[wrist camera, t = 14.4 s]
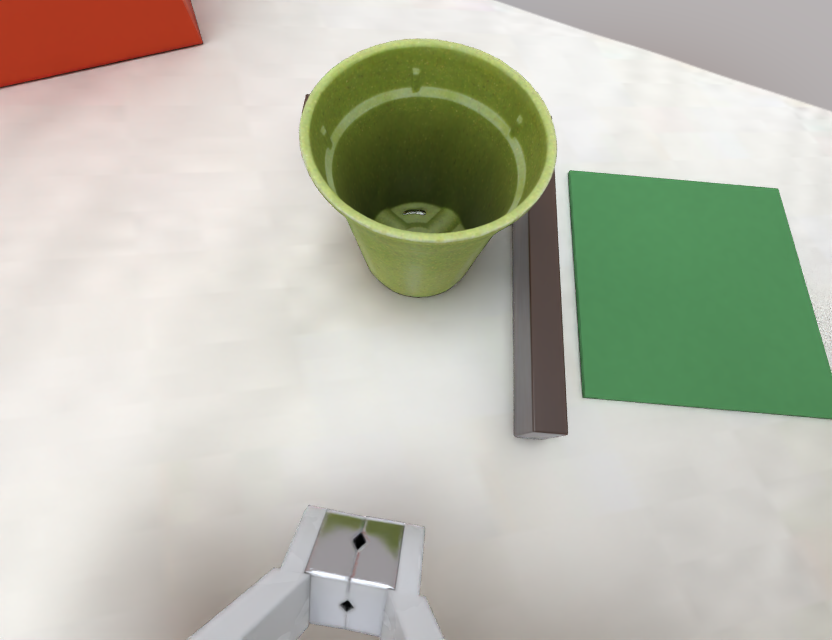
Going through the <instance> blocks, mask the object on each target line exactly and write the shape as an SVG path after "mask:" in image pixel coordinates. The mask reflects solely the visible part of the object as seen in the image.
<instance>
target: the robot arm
mask: <svg viewBox="0 0 832 640" xmlns="http://www.w3.org/2000/svg"><path fill="white" fill-rule="evenodd" d="M424 537H425V528H424V526H418V525H412V524H406V523H405V524H404V522H399V521H393V520H387V519H381V518H375V517H369V516H366V517H364V516H359V515H355V514H350V513H345V512H340V511H336V510H331V509H326V508H321V507H316V506H311V505H308V507H307V508H306V510H305V511H304V513H303V516H302V518H301V520H300V523H299V525H298V527H297V530H296V532H295V534H294V537H293V539H292V542H291V544H290V546H289V549H288V551H287V553H286V556H285V558H284V560H283V563H282V565H281V567H280V568H273V569H272V570H270V571H269V572H268V573H267V574H266V575H264V576H263V577H262V578H261V579H259V580H258V581H257V582H256V583H255V584H253V585H252V586H251V587H250V588H249V589H247V590H246V591H245V592H244V593H243V594H241V595H240V596H239V597H238V598H236V599H235V600H234V601H233V602H232V603H230V604H229V605H228V606H227V607H226V608H224V609H223V610H222V611H221V612H219V613H218V614H217V615H216V616H215V617H213V618H212V619H211V620H210V621H209V622H207V623H206V624H205V625H204V626H203V627H201V628H200V629H199V630H198V631H196V632H195V633H194V634H193V635H192V636H190V637H189V638H188V639H187V640H297V639H298V638H299V637H300V635H301V634H302V633H303V632H304V631H305V630H306V628H307V627H308V625H309V623H310V624H316V625H322V626H328V627H334V628H341V629H346V630H350V631H355V632H359V633H364V634H368V635H372V636H377V637H380V640H445V639H444V636H443V634H442V632H441V630H440V627H439V625H438V623H437V621H436V619H435V616H434V614H433V612H432V610H431V608H430V605H429V603H428V601H427V599H426V597H425V596H421V595H419V594H420V582H421V571H422V560H423V549H424Z"/></svg>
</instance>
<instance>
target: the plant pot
mask: <svg viewBox="0 0 832 640" xmlns="http://www.w3.org/2000/svg"><path fill="white" fill-rule="evenodd" d="M299 139H300V149H301V154H302V157H303V160H304V163H305V166H306V168H307V170H308V173H309V175H310V177H311V179H312V181H313V182H314V184H315V186H316V187H317V188H318V190H319V191H320V193H321V194H322V195H323V196H324V198H325V199H326V200H327V201H328V202H329V203H330V204H331V205H332V206H333V207H334V208H335V209H336V210H337V211H338V212H339V213H341V214H342V215H343V216H345V217H346V219H347V221H348V223H349V225H350V227H351V230H352V232H353V234H354V236H355V238H356V241H357V243H358V245H359V247H360V250H361V252H362V254H363V256H364V258H365V261H366V263H367V265H368V267H369V269H370V271H371V273H372V274H373V275H374V276H375V277H376V278H377V279H378V280H379V281H380V282H382V283H383V284H384V285H385V286H387V287H388V288H389V289H391V290H392V291H394V292H397V293H399V294H402V295H407V296H412V297H427V296H432V295H436V294H440V293H442V292H445V291H446V290H448V289H450V288H451V287H452V286H454V285H455V284H456V283H457V282H459V281H460V280H461V279H462V277H463V276H464V275H465V274H466V272H467V271H468V270H469V268H470V267H471V265H472V264H473V262H474V261H475V259H476V258H477V257H478V255H479V254H480V252H481V251H482V250H483V248H484V247H485V245H486V244H487V243H488V241H489V240H490V239H491V237H492V236H493V235H494V234H496V233H497V232H498V231H500V230H502V229H504V228H506V227H507V226H509V225H511V224H512V223H514V222H515V221H517V220H518V219H519V218H521V217H522V216H523V215H524V214H526V213H527V212H528V211H529V210H530V209H531V207H532V206H533V205H534V204H535V203H536V202H537V201H538V199H539V198H540V196H541V195H542V194H543V192H544V191H545V189H546V187H547V185H548V183H549V181H550V179H551V177H552V174H553V171H554V167H555V163H556V157H557V140H556V135H555V129H554V125H553V122H552V119H551V116H550V113H549V111H548V109H547V107H546V105H545V103H544V101H543V100H542V98H541V97H540V95H539V94H538V93H537V92H536V91H535V90H534V88H533V87H532V86H531V84H530V83H529V82H527V81H526V80H525V78H524V77H523V76H521V75H520V74H519V73H518V72H517V71H515V70H514V69H512V68H511V67H509V66H508V65H507V64H506V63H504V62H503V61H501V60H500V59H498V58H495V57H494V56H492V55H490V54H488V53H486V52H483V51H481V50H478V49H475V48H472V47H469V46H465V45H462V44H458V43H454V42H448V41H442V40H438V39H403V40H395V41H390V42H387V43H383V44H379V45H375V46H372V47H370V48H368V49H365V50H362V51H359V52H357V53H356V54H354V55H352V56H350V57H349V58H347V59H345V60H343V61H341V62H340V63H339V64H337V65H336V66H334V67H333V68H332V69H331V70H330V71H329V72H328V73H327V74H326V75H325V76H324V77H323V78H322V79H321V80H320V81H319V82H318V84H317V85H316V86H315V87H314V89H313V90H312V92H311V93H310V95H309V97H308V99H307V101H306V104H305V106H304V109H303V112H302V116H301V120H300V127H299ZM407 210H423V211H425V212H426V214H425V215H420V214H407V215H403V213H404V211H407Z"/></svg>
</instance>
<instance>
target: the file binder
mask: <svg viewBox="0 0 832 640" xmlns="http://www.w3.org/2000/svg"><path fill="white" fill-rule="evenodd" d="M202 43H203V42H202V38H201V35H200V31H199V28H198V25H197V21H196V18H195V14H194V11H193V7H192V4H191V1H190V0H0V87H4V86H8V85H13V84H18V83H22V82H27V81H31V80H36V79H41V78H45V77H50V76H54V75H59V74H64V73H68V72H73V71H77V70H82V69H87V68H91V67H96V66H101V65H105V64H110V63H114V62H119V61H124V60H128V59H133V58H137V57H142V56H147V55H151V54H156V53H160V52H165V51H170V50H174V49H179V48H183V47H188V46H193V45H197V44H202Z"/></svg>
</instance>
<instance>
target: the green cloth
mask: <svg viewBox="0 0 832 640" xmlns="http://www.w3.org/2000/svg"><path fill="white" fill-rule="evenodd" d="M568 179H569V194H570V209H571V225H572V240H573V255H574V270H575V285H576V301H577V316H578V331H579V346H580V361H581V376H582V392H583V398H594V399H606V400H617V401H629V402H640V403H652V404H664V405H675V406H687V407H698V408H710V409H721V410H733V411H745V412H756V413H768V414H779V415H791V416H802V417H814V418H826V419H832V373H831V370H830V366H829V363H828V359H827V356H826V352H825V349H824V345H823V342H822V338H821V335H820V332H819V328H818V325H817V321H816V318H815V314H814V311H813V307H812V304H811V300H810V297H809V294H808V290H807V287H806V283H805V280H804V276H803V273H802V269H801V266H800V262H799V259H798V256H797V252H796V249H795V245H794V242H793V238H792V235H791V231H790V228H789V224H788V221H787V218H786V214H785V211H784V207H783V204H782V200H781V197H780V193H779V190H778V189H776V188H765V187H754V186H742V185H731V184H720V183H708V182H697V181H685V180H674V179H663V178H651V177H640V176H629V175H617V174H606V173H595V172H583V171H572V170H570V171H569V173H568Z"/></svg>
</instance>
